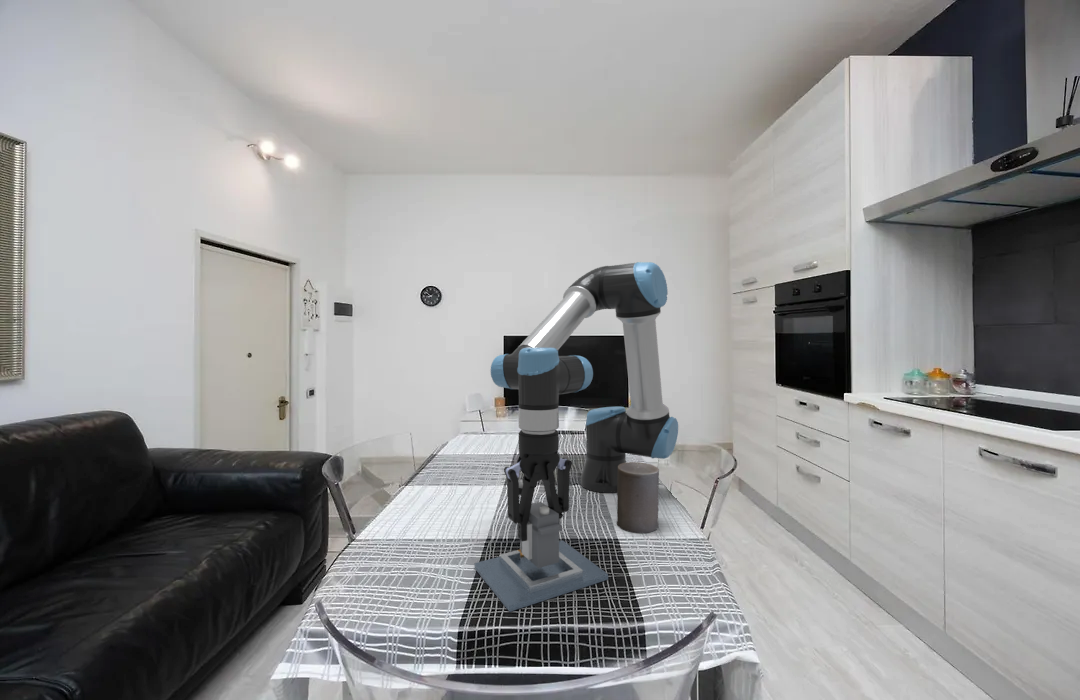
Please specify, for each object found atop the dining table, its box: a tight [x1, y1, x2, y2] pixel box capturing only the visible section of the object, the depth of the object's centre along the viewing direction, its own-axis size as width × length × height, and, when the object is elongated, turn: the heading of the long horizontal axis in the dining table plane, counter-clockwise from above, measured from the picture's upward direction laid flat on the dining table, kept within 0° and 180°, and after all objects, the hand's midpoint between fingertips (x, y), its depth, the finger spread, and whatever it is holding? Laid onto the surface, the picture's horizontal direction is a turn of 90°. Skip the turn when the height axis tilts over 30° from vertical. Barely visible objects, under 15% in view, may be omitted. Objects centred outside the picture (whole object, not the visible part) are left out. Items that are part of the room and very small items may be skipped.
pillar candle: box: [616, 461, 660, 534], centre depth 108 cm, size 10×10×15 cm
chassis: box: [473, 539, 609, 613], centre depth 86 cm, size 20×16×2 cm
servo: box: [520, 501, 563, 568], centre depth 86 cm, size 4×9×10 cm, turn 29°
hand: (539, 552), depth 86 cm, fingers closed on servo, 4 cm apart
